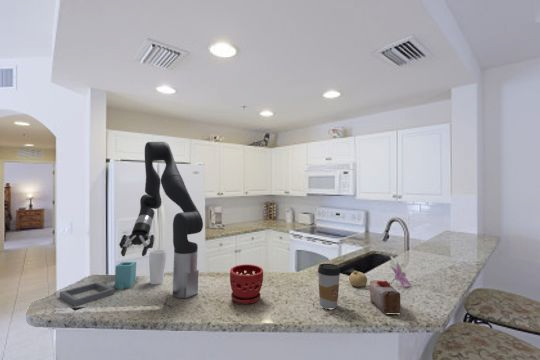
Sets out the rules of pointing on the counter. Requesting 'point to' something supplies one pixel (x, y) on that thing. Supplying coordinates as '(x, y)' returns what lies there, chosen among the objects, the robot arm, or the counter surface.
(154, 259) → the drinking glass
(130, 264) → the teal sleeve
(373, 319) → the counter surface
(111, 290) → the charcoal tray
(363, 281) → the onion
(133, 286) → the square wooden base
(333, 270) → the coffee cup
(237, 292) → the plant pot
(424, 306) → the counter surface
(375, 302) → the food item
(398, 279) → the lily
